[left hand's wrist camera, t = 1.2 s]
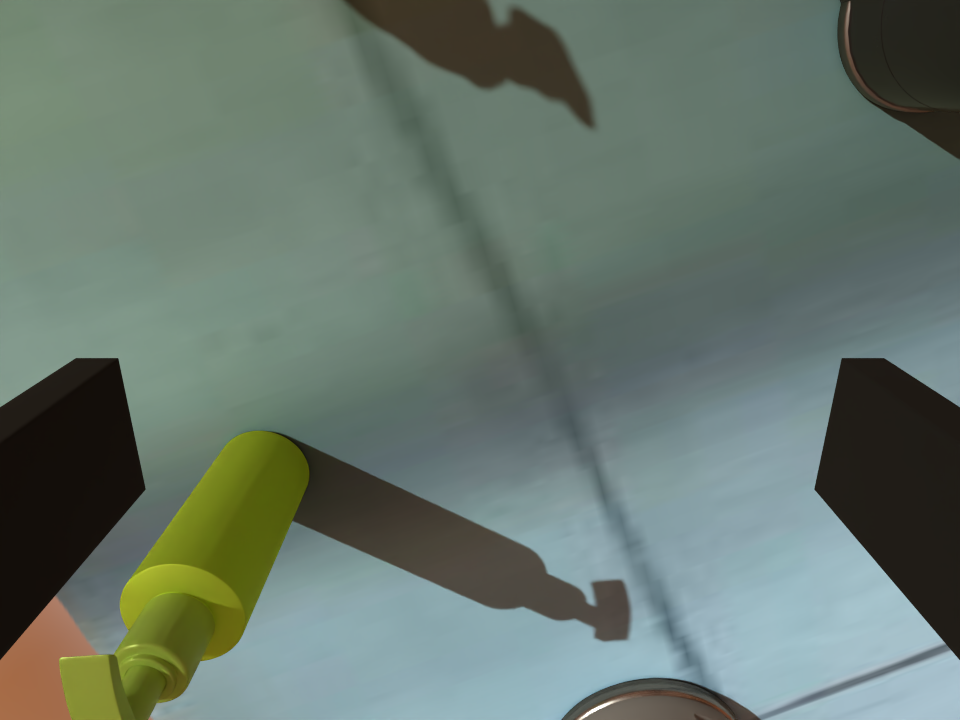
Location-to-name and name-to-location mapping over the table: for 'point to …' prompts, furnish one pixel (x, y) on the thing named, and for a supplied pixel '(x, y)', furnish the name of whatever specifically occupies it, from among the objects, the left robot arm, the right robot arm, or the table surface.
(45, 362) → the table surface
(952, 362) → the table surface
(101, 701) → the soap dispenser
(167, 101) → the table surface
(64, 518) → the left robot arm
